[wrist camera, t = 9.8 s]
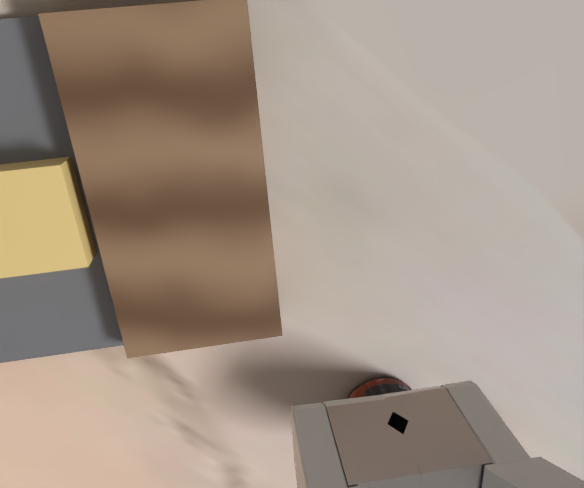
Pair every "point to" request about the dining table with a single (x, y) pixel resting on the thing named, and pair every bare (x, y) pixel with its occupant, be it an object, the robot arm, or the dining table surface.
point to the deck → (171, 168)
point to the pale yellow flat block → (42, 219)
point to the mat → (57, 144)
